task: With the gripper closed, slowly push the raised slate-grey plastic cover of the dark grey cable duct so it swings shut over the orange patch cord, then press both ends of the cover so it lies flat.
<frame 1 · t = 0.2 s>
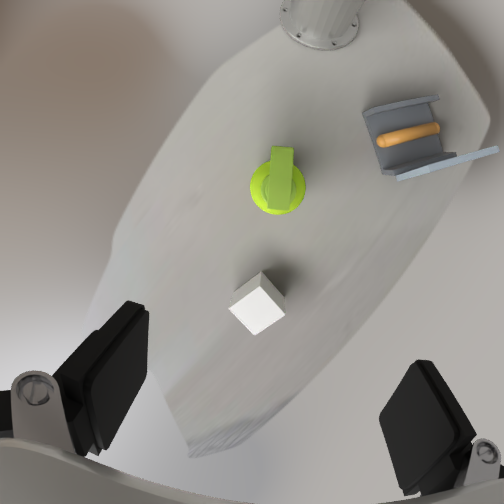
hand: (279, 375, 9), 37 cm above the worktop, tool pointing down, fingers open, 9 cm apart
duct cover: (446, 163, 30), point 11 cm above the worktop, hinge at 80.0°
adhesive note: (259, 294, 49), on the worktop
cable duct: (404, 134, 39), on the worktop
soap dispenser: (276, 177, 43), on the worktop
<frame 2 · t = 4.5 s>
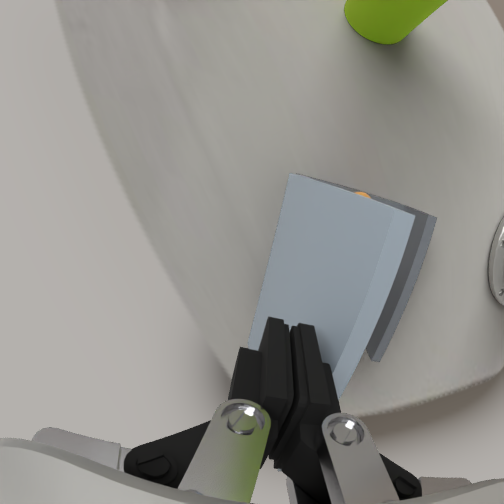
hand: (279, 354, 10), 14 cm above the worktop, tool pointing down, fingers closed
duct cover: (295, 309, 14), point 11 cm above the worktop, hinge at 77.3°, touching gripper
cable duct: (336, 259, 24), on the worktop
soap dispenser: (380, 21, 18), on the worktop
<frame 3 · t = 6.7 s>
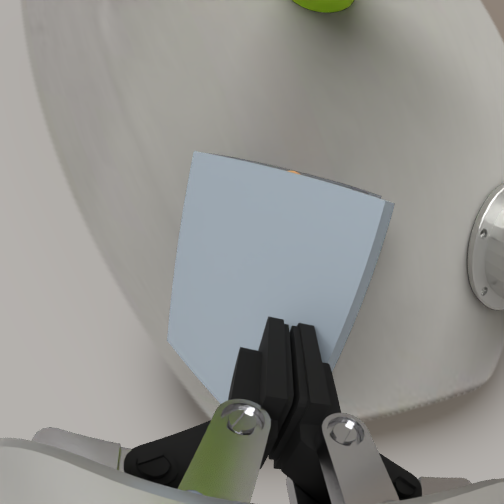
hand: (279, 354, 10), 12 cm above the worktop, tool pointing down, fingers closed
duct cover: (237, 300, 13), point 9 cm above the worktop, hinge at 43.9°, touching gripper
cable duct: (273, 249, 22), on the worktop
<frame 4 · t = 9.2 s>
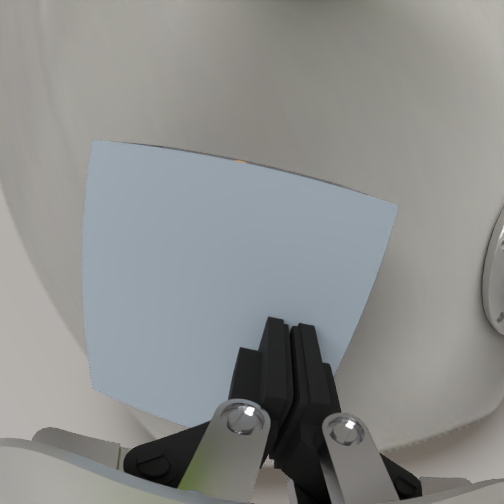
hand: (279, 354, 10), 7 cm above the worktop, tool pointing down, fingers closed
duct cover: (202, 325, 11), point 6 cm above the worktop, hinge at 3.1°, touching gripper
cable duct: (222, 268, 16), on the worktop
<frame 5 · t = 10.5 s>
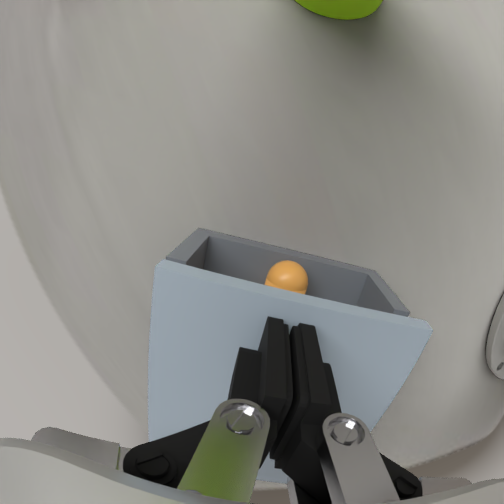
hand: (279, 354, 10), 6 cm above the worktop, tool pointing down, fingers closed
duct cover: (264, 413, 12), point 6 cm above the worktop, hinge at 1.2°, touching gripper
cable duct: (263, 342, 17), on the worktop
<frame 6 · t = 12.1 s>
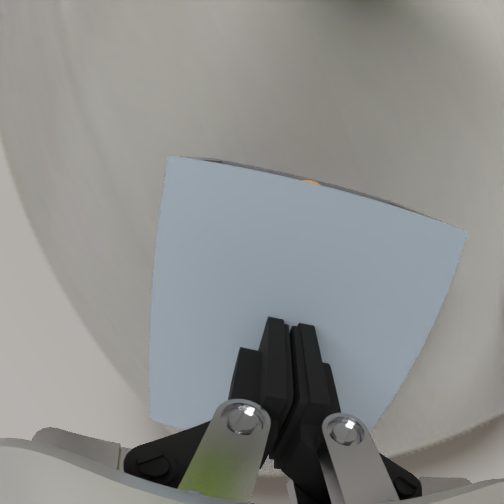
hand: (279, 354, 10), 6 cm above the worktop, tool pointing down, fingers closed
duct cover: (289, 349, 11), point 6 cm above the worktop, hinge at 0.0°
cable duct: (280, 287, 16), on the worktop
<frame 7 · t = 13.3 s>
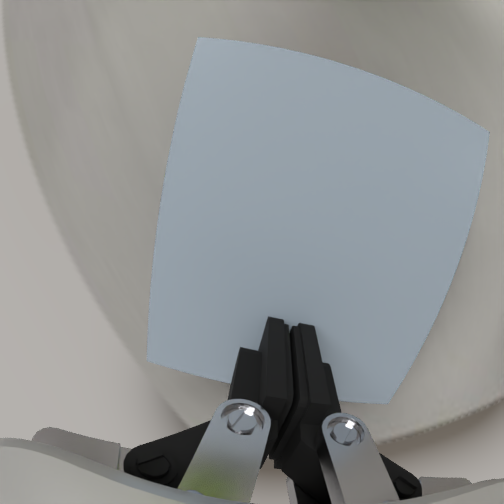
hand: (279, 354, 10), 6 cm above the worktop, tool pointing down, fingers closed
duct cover: (320, 249, 9), point 6 cm above the worktop, hinge at 0.0°, touching gripper
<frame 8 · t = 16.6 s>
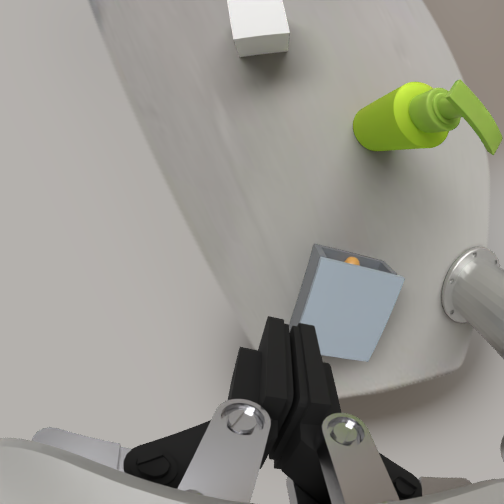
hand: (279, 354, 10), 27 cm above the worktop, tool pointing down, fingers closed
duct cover: (347, 314, 33), point 6 cm above the worktop, hinge at 0.0°
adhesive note: (260, 35, 30), on the worktop
cable duct: (336, 294, 38), on the worktop
soap dispenser: (377, 131, 32), on the worktop
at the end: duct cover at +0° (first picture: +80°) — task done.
